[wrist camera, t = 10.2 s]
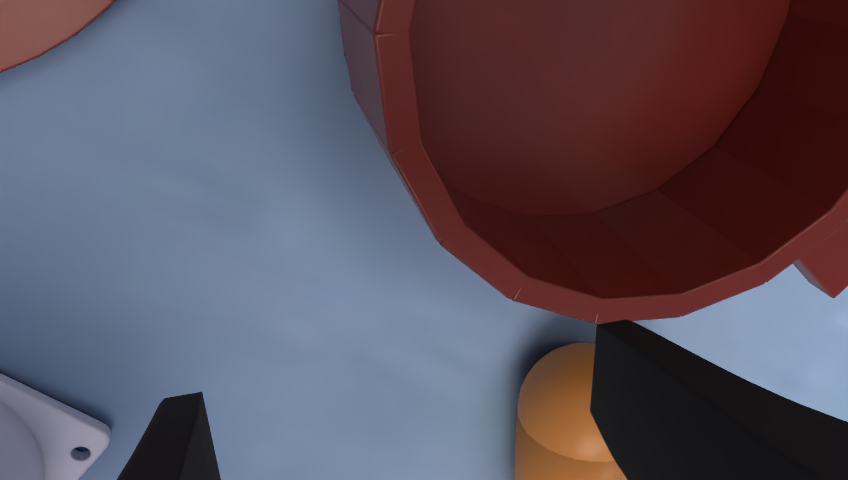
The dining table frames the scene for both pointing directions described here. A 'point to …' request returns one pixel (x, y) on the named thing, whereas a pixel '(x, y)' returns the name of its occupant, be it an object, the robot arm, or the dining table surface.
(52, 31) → the pot lid
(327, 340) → the dining table surface
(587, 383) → the bread roll
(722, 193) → the pot
